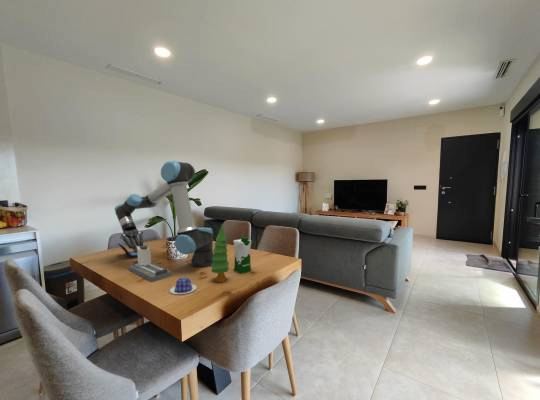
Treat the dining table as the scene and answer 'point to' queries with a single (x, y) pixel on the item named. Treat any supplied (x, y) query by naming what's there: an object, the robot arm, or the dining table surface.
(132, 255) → the game console
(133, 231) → the robot arm
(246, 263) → the milk carton
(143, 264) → the fader tab
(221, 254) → the decorative tree
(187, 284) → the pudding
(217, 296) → the dining table surface
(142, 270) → the fader track
